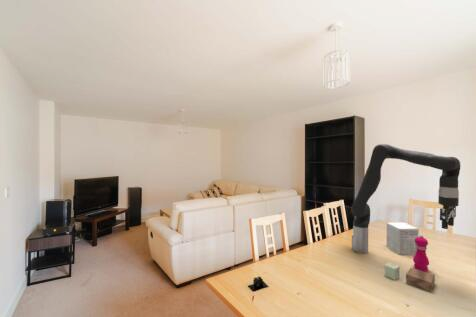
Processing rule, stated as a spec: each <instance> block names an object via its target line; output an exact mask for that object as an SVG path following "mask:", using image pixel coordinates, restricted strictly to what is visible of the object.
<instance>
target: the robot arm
mask: <svg viewBox="0 0 476 317" xmlns="http://www.w3.org/2000/svg"><path fill="white" fill-rule="evenodd" d="M387 159H393V160H394V159H395V160H400V161H401V160H402V161H406V162H408V163H411V164H414V165H419V166H425V167H430V168H433V169H435V170H436V169H437V170H441V171H442V173H441V176H440V177H439V183H438V184H439V186H438V196H437V197H438V200H437V202H438V204H439V205H440V206H442V207H441V208H440V209H439V220H440V221H441V228H442V229H444V230H448V229H449V226H451V227H453V226H455V225H454V224H455V219H456V217H457V207H458V206H459V199H460V198H459V197H460V196H459V195H460V192H459V176H460V172H461V161H460V159H458V158H457V157H455V156H442V155H436V154H433V153H430V152H429V153H428V152H422V151H416V150H408V149H403V148H400V147H396V146H393V145H390V144H386V143H384V144H383V143H380V144H376V145H375V146H374V147H373V150H372V152H371V156H370V159H369V164H368V167H367V169H366V172H365V175H364V176H363V179H362V181H361V183H360V184H361V185H360V187H359V190H358V192H357V195H356V197H355V199H354V201H353V202H352V204H351V208H350V212H351V215H352V216H354V217H355V219H354V220H353V221H352V225H353V226H352V231H353V232H352V235H351V250H353V251H354V252H356V253H359V254H368V253H369V226H370V223H371V222H370V221H371V208H370V206H369V204H368V201H369V200H370V198H371V197H372V196H373V195H374V194H375V192H376V191H377V189H378V187H379V185H380V182H381V177H382V172H381V171H382V166H383V164H384V162H385V160H387Z"/></svg>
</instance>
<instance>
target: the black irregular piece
mask: <svg viewBox="0 0 476 317" xmlns="http://www.w3.org/2000/svg"><path fill="white" fill-rule="evenodd" d="M252 281H253V283H252V284H249V285H247V287H248V288H249V290H251V292H257V291H260V290H263V289H267V288H269V285H268V284H267V283H266V282H265V281H264V280H263V278H262V277H261V276H257V277H253V280H252Z"/></svg>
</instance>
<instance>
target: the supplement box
mask: <svg viewBox="0 0 476 317" xmlns="http://www.w3.org/2000/svg"><path fill="white" fill-rule="evenodd" d="M419 230H420V229H419V227H415V226H414V225H411V224H409V223H406V222H386V247H387V248H388V249H390V250H391V251H393V252H394V253H396V254H397V255H404V256H405V255H406V256H407V255H413V256H414V255H415V254H416V251H417V248H416V243H415V238H416V237H419V235H420V234H419V233H420V232H419Z"/></svg>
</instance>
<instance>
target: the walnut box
mask: <svg viewBox="0 0 476 317" xmlns="http://www.w3.org/2000/svg"><path fill="white" fill-rule="evenodd" d="M435 277H436V276H435V274H433V273H430V272H427V271H420V270H417V269H415V268H414V267H410V268H409V269H408V271H407V272H406V274H405V284H407V285H410V286H413V287H415V288H418V289H420V290H421V289H422V290H424V291H427V292H430V293H432V292H433V289H434V288H435V287H434V286H435V283H436V282H435V281H436V280H435V279H436V278H435Z"/></svg>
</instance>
